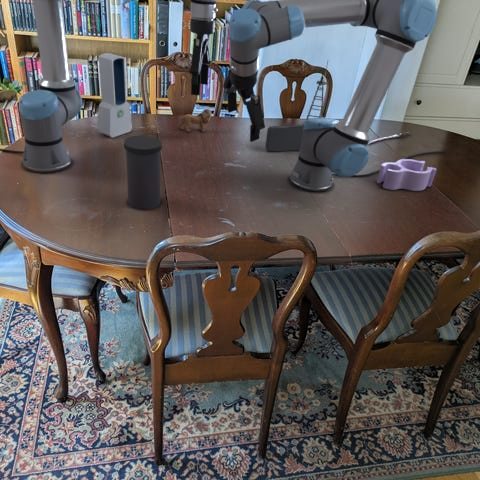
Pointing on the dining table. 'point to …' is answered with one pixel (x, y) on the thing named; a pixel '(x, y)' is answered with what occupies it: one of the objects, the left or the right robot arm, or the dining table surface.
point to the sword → (386, 138)
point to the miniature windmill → (317, 69)
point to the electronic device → (113, 97)
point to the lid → (142, 145)
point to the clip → (406, 175)
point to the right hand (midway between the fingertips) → (243, 124)
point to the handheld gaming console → (284, 137)
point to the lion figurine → (196, 119)
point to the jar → (143, 180)
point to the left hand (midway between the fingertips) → (199, 89)
